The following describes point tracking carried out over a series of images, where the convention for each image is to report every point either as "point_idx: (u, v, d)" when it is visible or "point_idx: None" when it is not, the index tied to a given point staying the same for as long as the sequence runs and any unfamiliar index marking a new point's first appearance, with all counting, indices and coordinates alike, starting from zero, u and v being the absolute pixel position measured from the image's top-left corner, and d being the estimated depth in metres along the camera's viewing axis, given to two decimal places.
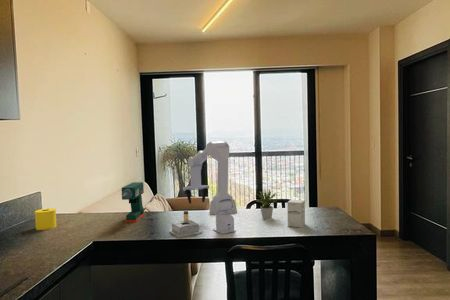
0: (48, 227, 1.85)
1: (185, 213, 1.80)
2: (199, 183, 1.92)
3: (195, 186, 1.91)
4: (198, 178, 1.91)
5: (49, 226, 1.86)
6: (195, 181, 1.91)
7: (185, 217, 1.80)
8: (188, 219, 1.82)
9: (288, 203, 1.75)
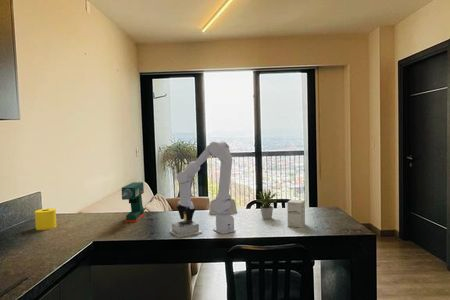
0: (48, 227, 1.85)
1: (185, 213, 1.80)
2: (182, 200, 1.79)
3: (179, 202, 1.81)
4: (181, 195, 1.79)
5: (49, 226, 1.86)
6: None
7: (185, 217, 1.80)
8: None
9: (288, 203, 1.75)
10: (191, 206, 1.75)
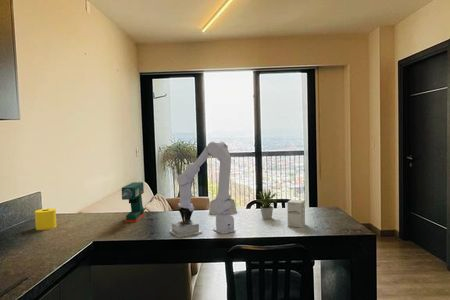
0: (48, 227, 1.85)
1: None
2: (182, 202, 1.79)
3: (180, 204, 1.81)
4: (181, 197, 1.79)
5: (49, 226, 1.86)
6: (180, 199, 1.80)
7: None
8: None
9: (288, 203, 1.75)
10: (191, 208, 1.75)
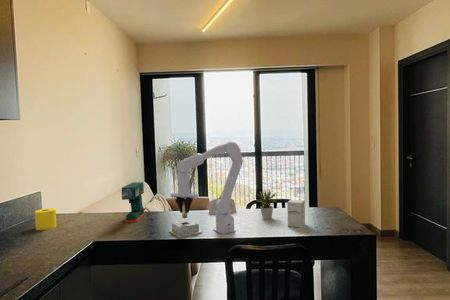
0: (48, 227, 1.85)
1: None
2: (183, 191, 1.67)
3: (179, 194, 1.68)
4: (182, 185, 1.67)
5: (49, 226, 1.86)
6: (179, 188, 1.68)
7: None
8: None
9: (288, 203, 1.75)
10: (196, 196, 1.66)
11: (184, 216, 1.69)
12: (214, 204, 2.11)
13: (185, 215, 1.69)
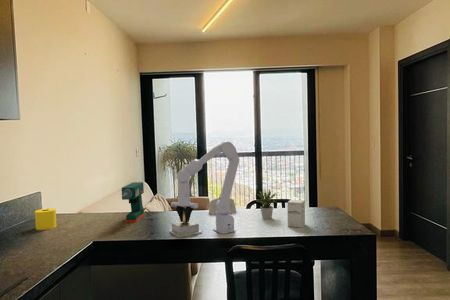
0: (48, 227, 1.85)
1: None
2: (183, 200, 1.67)
3: (179, 203, 1.68)
4: (182, 194, 1.67)
5: (49, 226, 1.86)
6: (179, 197, 1.68)
7: None
8: None
9: (288, 203, 1.75)
10: (196, 205, 1.67)
11: None
12: (214, 204, 2.11)
13: None
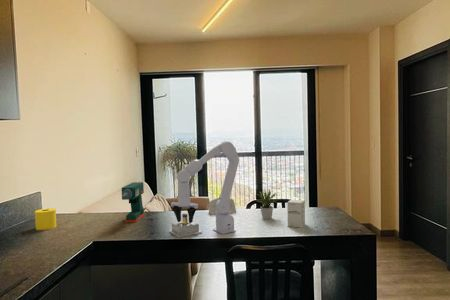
0: (48, 227, 1.85)
1: (185, 216, 1.69)
2: (183, 200, 1.67)
3: (179, 203, 1.68)
4: (182, 195, 1.67)
5: (49, 226, 1.86)
6: (179, 198, 1.68)
7: (185, 220, 1.69)
8: None
9: (288, 203, 1.75)
10: (196, 205, 1.67)
11: None
12: (214, 204, 2.11)
13: None
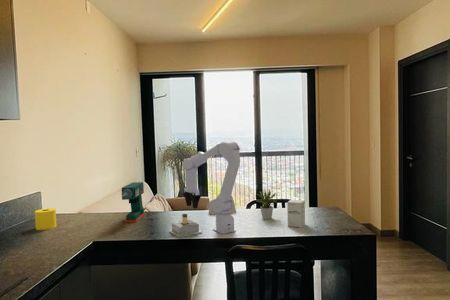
0: (48, 227, 1.85)
1: (185, 216, 1.69)
2: (188, 187, 1.80)
3: (186, 189, 1.82)
4: (187, 181, 1.80)
5: (49, 226, 1.86)
6: (186, 184, 1.81)
7: (185, 220, 1.69)
8: None
9: (288, 203, 1.75)
10: (197, 192, 1.76)
11: None
12: None
13: None
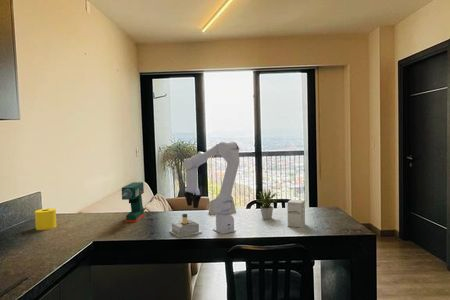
0: (48, 227, 1.85)
1: (185, 216, 1.69)
2: (188, 186, 1.80)
3: (186, 189, 1.82)
4: (187, 181, 1.81)
5: (49, 226, 1.86)
6: None
7: (185, 220, 1.69)
8: None
9: (288, 203, 1.75)
10: (197, 192, 1.76)
11: None
12: None
13: None
